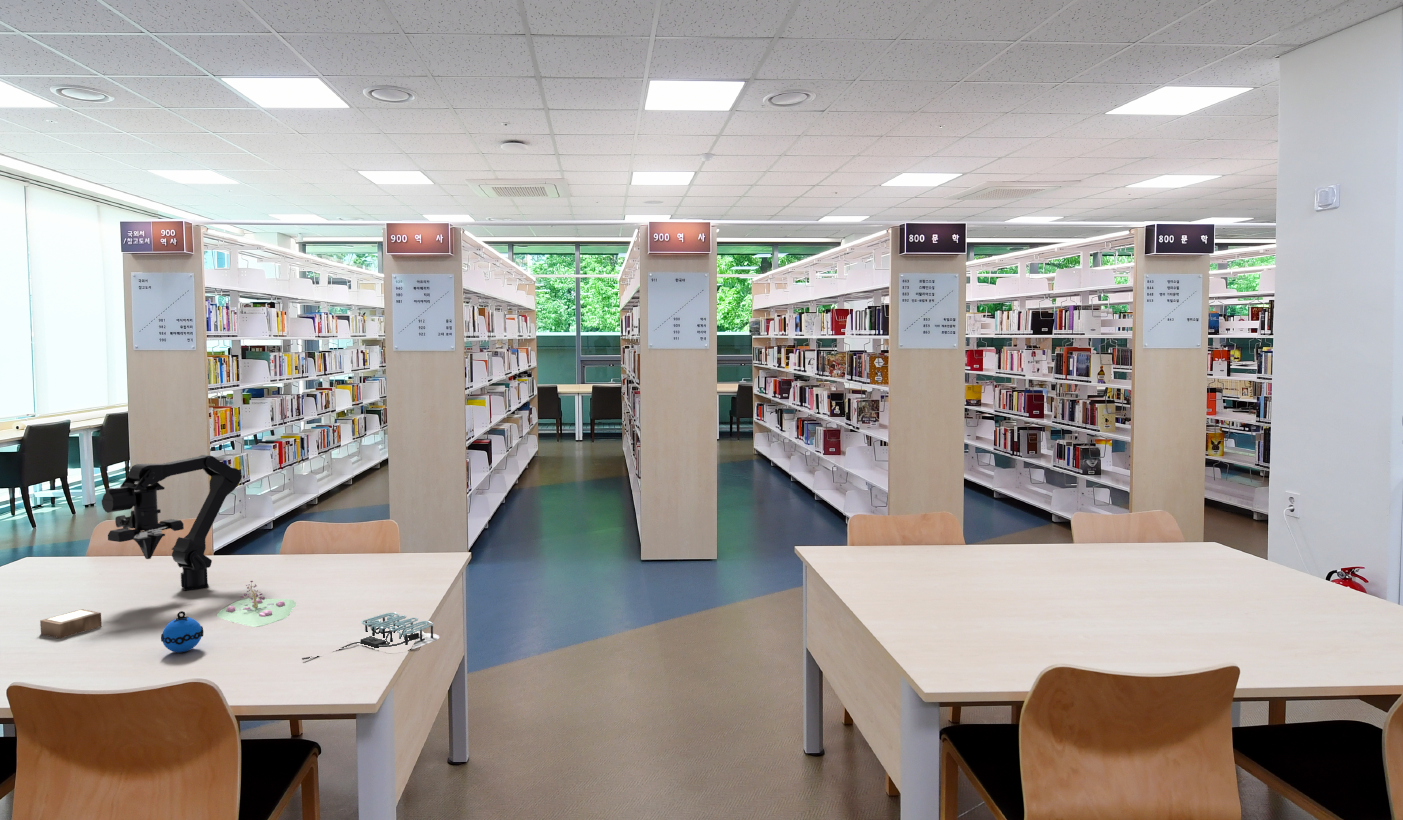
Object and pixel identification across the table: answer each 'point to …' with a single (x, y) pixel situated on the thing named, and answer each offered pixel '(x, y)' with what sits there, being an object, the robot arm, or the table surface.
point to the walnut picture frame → (70, 623)
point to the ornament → (182, 634)
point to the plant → (257, 610)
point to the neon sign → (386, 624)
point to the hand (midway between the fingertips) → (148, 558)
